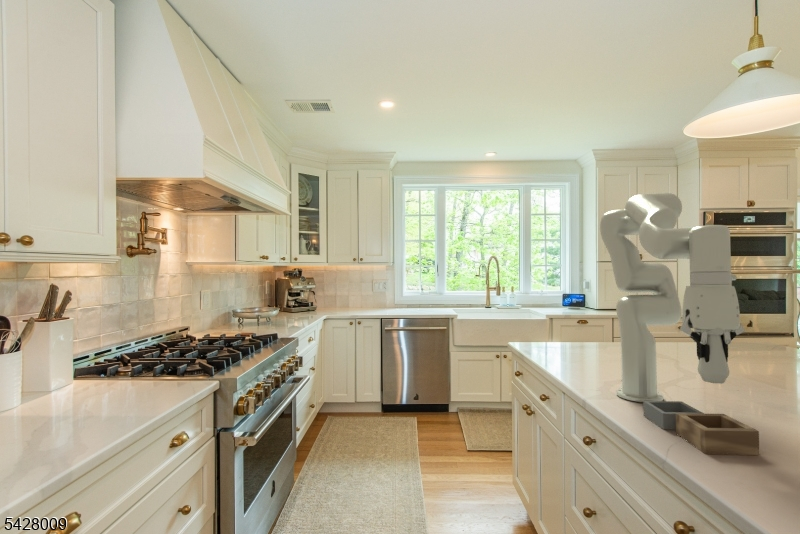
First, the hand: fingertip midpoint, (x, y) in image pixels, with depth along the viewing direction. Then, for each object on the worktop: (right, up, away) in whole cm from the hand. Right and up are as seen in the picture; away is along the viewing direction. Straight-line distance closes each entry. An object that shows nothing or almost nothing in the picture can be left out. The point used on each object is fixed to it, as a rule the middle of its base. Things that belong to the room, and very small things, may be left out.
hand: (712, 360), depth 93 cm
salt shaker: (0, -5, 0) cm, 5 cm away
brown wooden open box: (0, -19, 0) cm, 19 cm away
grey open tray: (0, -19, +13) cm, 23 cm away
